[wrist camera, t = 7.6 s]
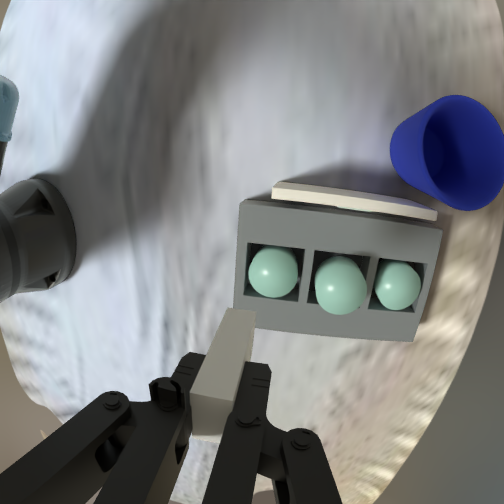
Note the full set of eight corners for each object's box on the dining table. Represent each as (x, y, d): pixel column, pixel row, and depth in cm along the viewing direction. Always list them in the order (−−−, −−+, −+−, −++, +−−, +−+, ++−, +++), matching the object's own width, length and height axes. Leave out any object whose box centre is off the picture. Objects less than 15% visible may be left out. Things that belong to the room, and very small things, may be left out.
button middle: (311, 297, 29) (312, 312, 26) (317, 253, 27) (320, 263, 25) (355, 302, 28) (361, 316, 25) (364, 258, 27) (371, 269, 24)
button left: (251, 282, 31) (246, 294, 28) (255, 240, 30) (250, 248, 27) (294, 287, 31) (294, 300, 28) (300, 245, 29) (300, 254, 27)
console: (237, 311, 33) (232, 324, 30) (245, 199, 29) (239, 203, 27) (405, 327, 31) (412, 341, 28) (430, 223, 27) (443, 229, 24)
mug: (485, 180, 25) (543, 192, 15) (390, 201, 27) (431, 222, 18) (469, 105, 23) (524, 91, 13) (370, 119, 25) (403, 100, 16)
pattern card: (277, 193, 29) (271, 202, 22) (278, 181, 29) (272, 187, 22) (407, 210, 27) (435, 224, 21) (408, 199, 27) (437, 211, 20)
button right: (367, 295, 30) (373, 308, 27) (375, 254, 29) (383, 264, 26) (405, 298, 29) (414, 311, 26) (415, 259, 28) (425, 269, 25)
